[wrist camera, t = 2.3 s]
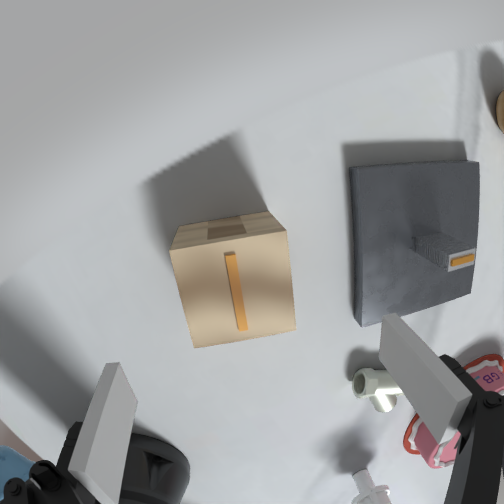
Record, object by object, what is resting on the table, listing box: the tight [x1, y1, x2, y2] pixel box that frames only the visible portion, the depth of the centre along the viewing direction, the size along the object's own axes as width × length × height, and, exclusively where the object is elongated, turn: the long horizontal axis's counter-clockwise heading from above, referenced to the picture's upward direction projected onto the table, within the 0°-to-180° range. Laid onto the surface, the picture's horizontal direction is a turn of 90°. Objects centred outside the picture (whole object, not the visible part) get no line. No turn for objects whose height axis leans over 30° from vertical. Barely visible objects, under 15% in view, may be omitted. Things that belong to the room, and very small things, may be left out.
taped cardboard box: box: [169, 211, 296, 348], centre depth 26 cm, size 8×8×7 cm
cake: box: [403, 354, 504, 468], centre depth 39 cm, size 25×25×11 cm
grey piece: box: [349, 160, 480, 327], centre depth 27 cm, size 16×16×8 cm
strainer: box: [351, 469, 391, 504], centre depth 38 cm, size 7×7×15 cm
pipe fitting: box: [352, 368, 404, 412], centre depth 35 cm, size 8×4×7 cm
